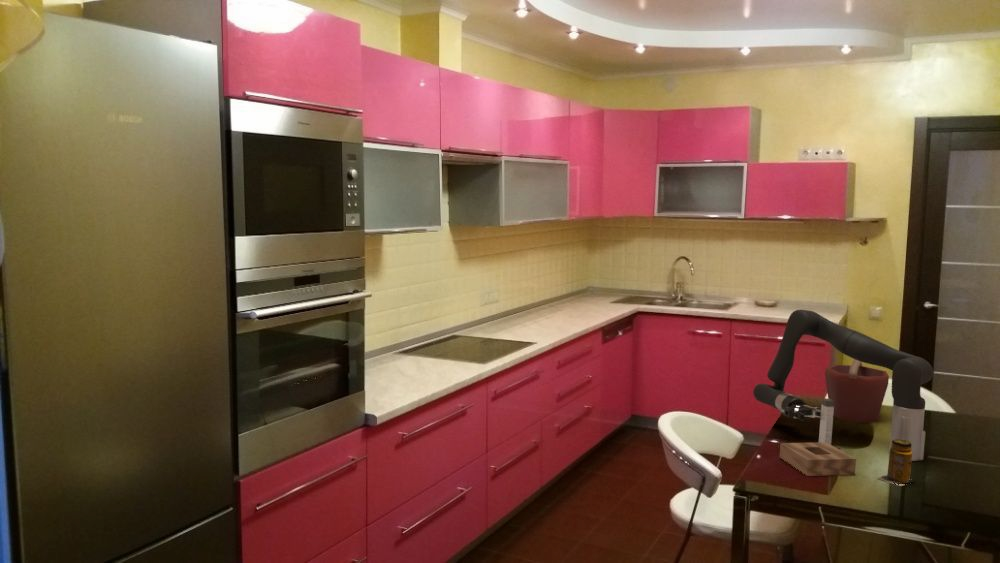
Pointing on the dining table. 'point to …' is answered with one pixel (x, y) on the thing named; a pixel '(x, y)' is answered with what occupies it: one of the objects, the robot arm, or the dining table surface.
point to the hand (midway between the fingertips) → (815, 417)
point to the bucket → (856, 391)
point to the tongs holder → (817, 459)
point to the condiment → (899, 462)
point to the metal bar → (826, 421)
